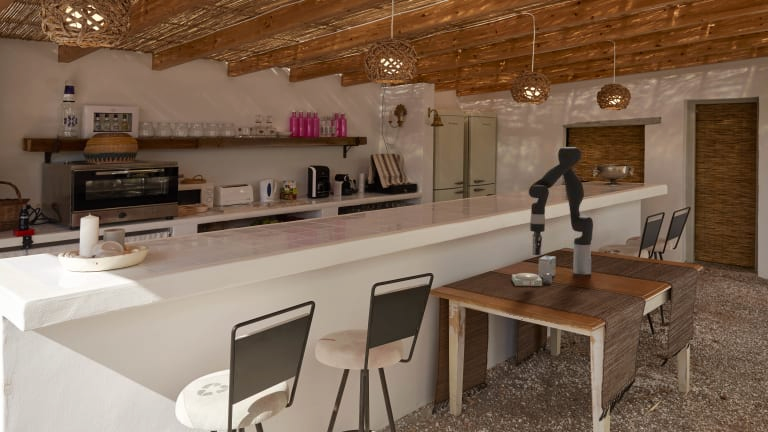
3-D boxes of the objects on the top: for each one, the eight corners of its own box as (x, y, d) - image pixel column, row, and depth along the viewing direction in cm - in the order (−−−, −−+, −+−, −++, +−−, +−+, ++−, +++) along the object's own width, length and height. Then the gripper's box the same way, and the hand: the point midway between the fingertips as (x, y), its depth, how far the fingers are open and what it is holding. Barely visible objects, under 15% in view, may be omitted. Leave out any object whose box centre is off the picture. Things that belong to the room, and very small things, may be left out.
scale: (537, 280, 326) (537, 272, 325) (542, 286, 311) (542, 278, 311) (511, 279, 327) (512, 272, 327) (515, 285, 313) (515, 278, 312)
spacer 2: (550, 282, 320) (550, 273, 320) (552, 284, 316) (552, 274, 316) (542, 282, 321) (542, 273, 320) (543, 283, 317) (544, 274, 316)
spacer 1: (539, 253, 318) (540, 244, 318) (541, 255, 314) (541, 246, 314) (531, 253, 319) (532, 244, 318) (533, 255, 314) (533, 245, 314)
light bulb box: (544, 273, 342) (544, 255, 341) (555, 274, 339) (556, 256, 337) (538, 277, 334) (538, 258, 332) (549, 278, 330) (550, 259, 328)
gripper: (547, 224, 307) (546, 256, 309) (542, 221, 321) (541, 252, 323) (532, 223, 308) (531, 256, 310) (528, 220, 322) (527, 251, 324)
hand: (536, 253), depth 316 cm, fingers closed on spacer 1, 4 cm apart
